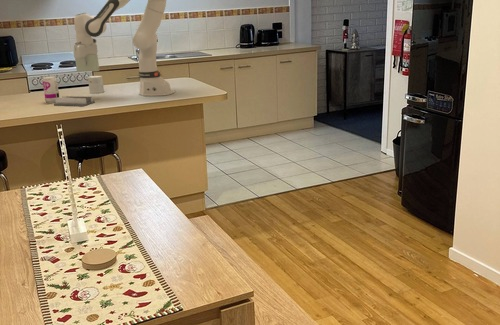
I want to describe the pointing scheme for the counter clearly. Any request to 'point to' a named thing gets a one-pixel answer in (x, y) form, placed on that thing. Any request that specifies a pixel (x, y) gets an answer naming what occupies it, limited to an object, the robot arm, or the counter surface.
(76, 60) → the door panel
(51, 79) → the supplement can
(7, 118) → the counter surface
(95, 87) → the small box
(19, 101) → the counter surface
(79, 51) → the robot arm
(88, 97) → the bottom track
